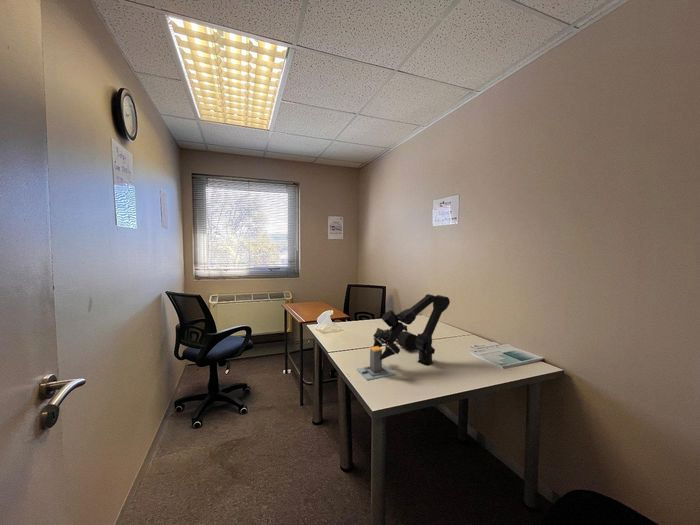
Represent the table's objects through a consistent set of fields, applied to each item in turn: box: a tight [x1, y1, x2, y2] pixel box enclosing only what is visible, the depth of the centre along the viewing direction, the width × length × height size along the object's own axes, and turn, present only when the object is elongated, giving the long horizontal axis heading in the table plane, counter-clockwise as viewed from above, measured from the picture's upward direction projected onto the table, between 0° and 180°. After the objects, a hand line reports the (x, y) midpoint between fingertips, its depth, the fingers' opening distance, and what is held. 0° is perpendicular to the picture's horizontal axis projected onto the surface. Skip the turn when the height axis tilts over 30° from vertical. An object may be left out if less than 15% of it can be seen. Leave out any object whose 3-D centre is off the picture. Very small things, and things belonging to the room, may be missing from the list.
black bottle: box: [395, 330, 418, 352], centre depth 184 cm, size 10×34×10 cm, turn 16°
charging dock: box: [356, 363, 397, 381], centre depth 140 cm, size 16×12×2 cm
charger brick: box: [369, 346, 383, 374], centre depth 140 cm, size 4×4×12 cm
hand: (375, 356), depth 140 cm, fingers open, 9 cm apart
